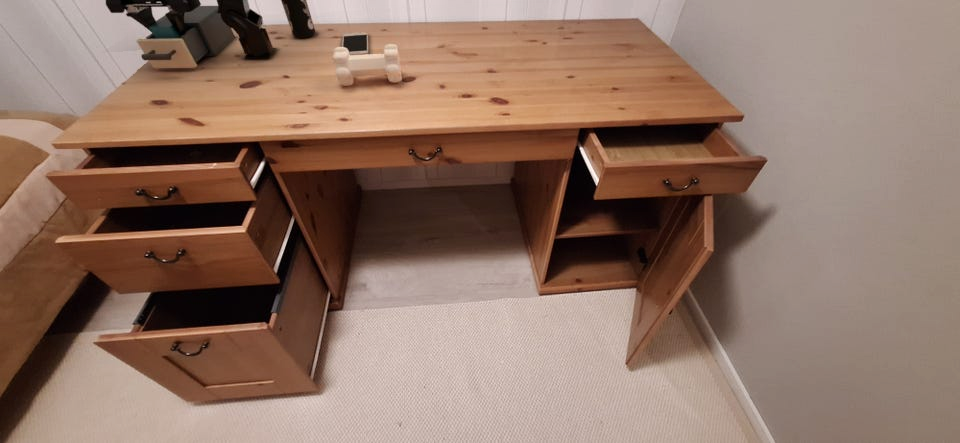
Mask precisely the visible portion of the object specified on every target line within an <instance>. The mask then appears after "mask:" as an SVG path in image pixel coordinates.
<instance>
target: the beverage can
mask: <svg viewBox="0 0 960 443" xmlns="http://www.w3.org/2000/svg"><path fill="white" fill-rule="evenodd" d="M280 1H281V4H282V7H283V10H284V13H285V16H286V19H287V22H288V26H289V28H290V32H291V34H292V35H293V36H294V37H295V38H297V39H308V38H309V39H310V38H312V37H314V36H315V33H316V28H315V25H314V21H313V18H312V16H311V12H310V9H309V5H308V1H307V0H280Z"/></svg>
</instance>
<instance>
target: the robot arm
mask: <svg viewBox="0 0 960 443" xmlns="http://www.w3.org/2000/svg"><path fill="white" fill-rule="evenodd" d="M216 3H217V6H218V11H217V13H218V14H219V13H221V18H222V20H223V22H224V23H225V24H226V25H227V26H229V27H231V29H232V30H234V31H233V32H235V33H236V34H237V36H238V37H239V38H238V42H239V43H240V46H241V48H242V50H243V53H244V55H245V56H244V59H245V60H268V59H270V58H271V57H272V56H273V54H275V52H276V51H277V47H273V44H272V41H271V39H270V36H269V33H268V31H267V29H266V28H263V27H262V26H263V16H262V15H261V14H259V13H257V12H256V11H254V10H253V9H252V8H250V3H249V0H216ZM105 6H106V7H107V9H108V11H109V12H110V13H111V14H123V13H125V11H126V13H125V15H126V17H128V18H132V19H133V20H134V21H136V22H137V23H139V24H140V25H141V26H143V27H144V28H146V30H148V31H150V32H151V33H152V31H151V29H150V28H149V27H150V26H152V25H153V24H155V23H156V21H157V20H156V19H155V17H154V15H153V8H167V9H168V12H166V13H165V14H164V16H165V15H166V17H167V18H168V20H169V21H170V23H171V24H172V26H173V27H174V29H175V30H176V32H177V33H178V35H179V36H180V37H181V36H182V35H183V34H185V33H186V31H185V24H184V14H185V12H191V11H193V10H194V9H196V8H197V7H199V6H202V3H201V1H200V0H105Z"/></svg>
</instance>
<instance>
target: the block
mask: <svg viewBox="0 0 960 443" xmlns="http://www.w3.org/2000/svg"><path fill="white" fill-rule="evenodd" d="M149 28H150V29H151V31H152V32H151V31H150V32H151V34H152V33H153V34H154V36H155V38H156V39H180V36H179V35H178V33H177V32H176V30H175V29H174V27H173V26H172V24H171V23H170V21H169V20H159V21H158V22H156V23H155V24H153V25H152V26H150V27H149ZM185 31H186V29H185ZM186 32H187V31H186Z"/></svg>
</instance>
